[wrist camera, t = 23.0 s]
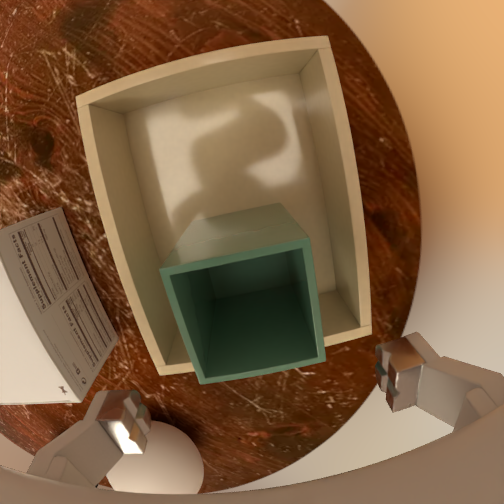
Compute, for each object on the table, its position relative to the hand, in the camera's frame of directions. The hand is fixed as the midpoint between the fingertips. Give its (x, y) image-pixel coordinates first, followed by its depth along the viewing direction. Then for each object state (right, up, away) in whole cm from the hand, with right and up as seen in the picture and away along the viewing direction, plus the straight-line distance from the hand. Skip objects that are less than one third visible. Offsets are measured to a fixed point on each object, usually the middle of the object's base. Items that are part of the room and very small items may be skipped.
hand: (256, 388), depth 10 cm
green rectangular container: (0, 0, +15) cm, 15 cm away
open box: (-1, +8, +14) cm, 16 cm away
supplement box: (-22, 0, +16) cm, 27 cm away
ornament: (-10, -16, +21) cm, 29 cm away
